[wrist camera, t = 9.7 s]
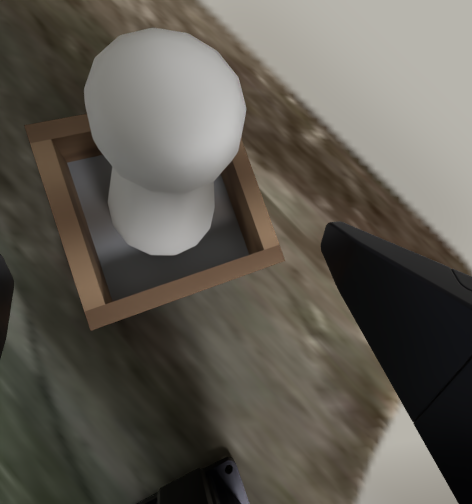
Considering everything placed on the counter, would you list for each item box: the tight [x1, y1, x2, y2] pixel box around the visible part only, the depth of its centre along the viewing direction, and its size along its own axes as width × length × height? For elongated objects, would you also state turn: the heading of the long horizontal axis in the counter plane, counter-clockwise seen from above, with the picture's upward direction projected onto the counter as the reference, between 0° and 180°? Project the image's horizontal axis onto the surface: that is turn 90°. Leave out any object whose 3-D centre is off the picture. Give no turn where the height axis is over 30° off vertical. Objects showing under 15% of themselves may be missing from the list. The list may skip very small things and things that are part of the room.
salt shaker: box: [84, 28, 246, 255], centre depth 14 cm, size 6×6×13 cm
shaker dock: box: [24, 114, 285, 331], centre depth 19 cm, size 11×11×4 cm
